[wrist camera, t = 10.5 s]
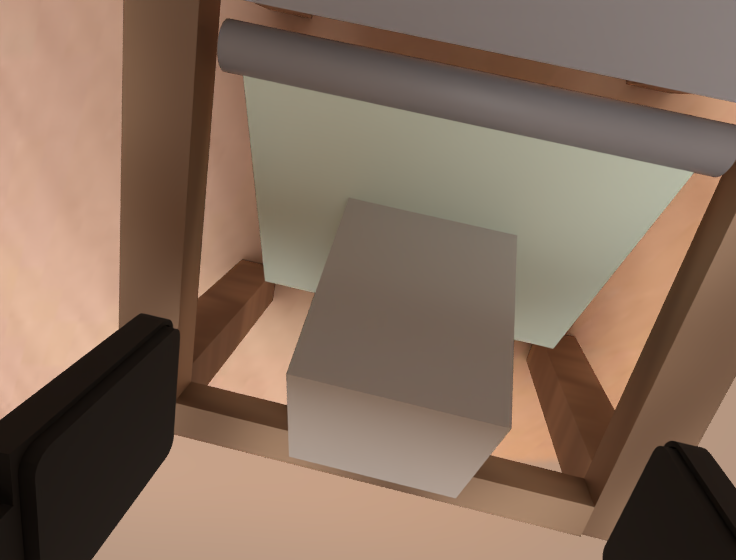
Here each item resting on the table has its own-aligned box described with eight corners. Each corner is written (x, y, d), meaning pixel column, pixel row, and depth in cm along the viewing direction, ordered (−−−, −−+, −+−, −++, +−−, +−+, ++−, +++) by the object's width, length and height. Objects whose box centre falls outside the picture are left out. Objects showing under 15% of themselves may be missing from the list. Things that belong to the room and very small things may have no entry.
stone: (348, 197, 15) (286, 373, 11) (517, 235, 15) (511, 428, 11) (338, 299, 19) (288, 456, 15) (471, 330, 19) (455, 498, 15)
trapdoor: (274, 229, 21) (246, 290, 19) (236, -286, 10) (158, -262, 8) (565, 295, 20) (566, 365, 19) (896, -168, 9) (990, -108, 7)
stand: (238, 293, 26) (117, 420, 16) (274, -40, 21) (126, -154, 11) (561, 370, 25) (640, 551, 16) (690, 44, 20) (938, 4, 10)
